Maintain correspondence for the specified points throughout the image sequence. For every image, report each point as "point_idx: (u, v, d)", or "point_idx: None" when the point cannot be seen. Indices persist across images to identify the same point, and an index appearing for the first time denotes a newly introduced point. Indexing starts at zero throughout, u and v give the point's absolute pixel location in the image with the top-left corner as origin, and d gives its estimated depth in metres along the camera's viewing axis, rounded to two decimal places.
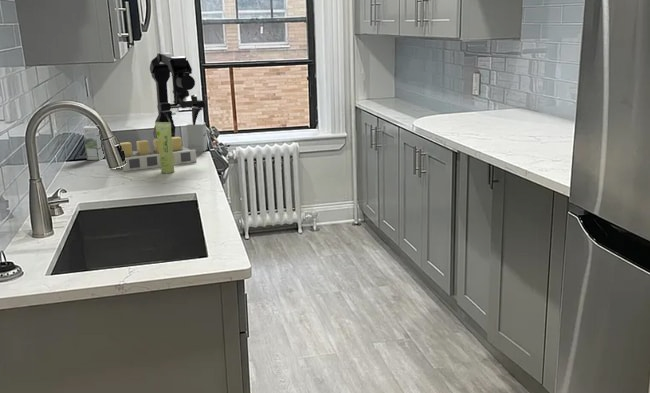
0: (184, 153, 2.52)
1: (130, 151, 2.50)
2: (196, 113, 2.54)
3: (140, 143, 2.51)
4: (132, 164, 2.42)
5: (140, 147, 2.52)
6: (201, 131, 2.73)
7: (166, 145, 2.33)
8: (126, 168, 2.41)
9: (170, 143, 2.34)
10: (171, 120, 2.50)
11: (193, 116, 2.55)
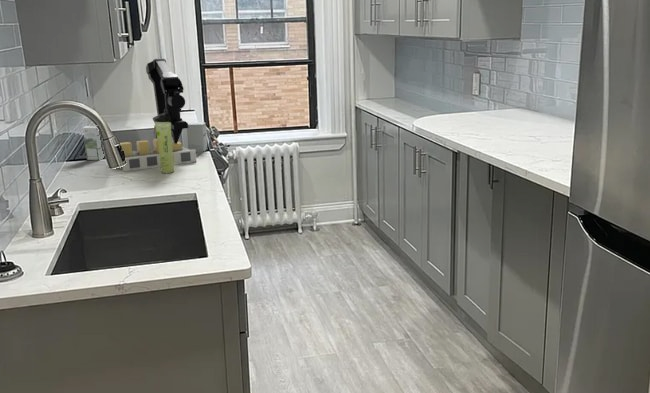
0: (184, 153, 2.52)
1: (130, 151, 2.50)
2: (172, 132, 2.58)
3: (140, 143, 2.51)
4: (132, 164, 2.42)
5: (140, 147, 2.52)
6: (201, 131, 2.73)
7: (166, 145, 2.33)
8: (126, 168, 2.41)
9: (170, 143, 2.34)
10: (172, 136, 2.61)
11: None
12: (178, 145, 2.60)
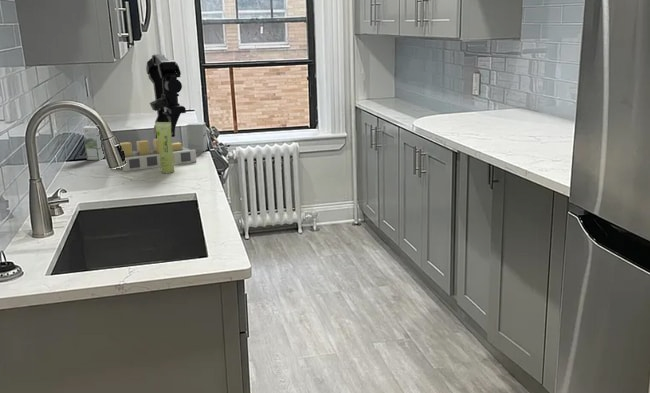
0: (184, 153, 2.52)
1: (130, 151, 2.50)
2: (169, 117, 2.56)
3: (140, 143, 2.51)
4: (132, 164, 2.42)
5: (140, 147, 2.52)
6: (201, 131, 2.73)
7: (166, 145, 2.33)
8: (126, 168, 2.41)
9: (170, 143, 2.34)
10: (169, 121, 2.58)
11: None
12: (178, 145, 2.60)
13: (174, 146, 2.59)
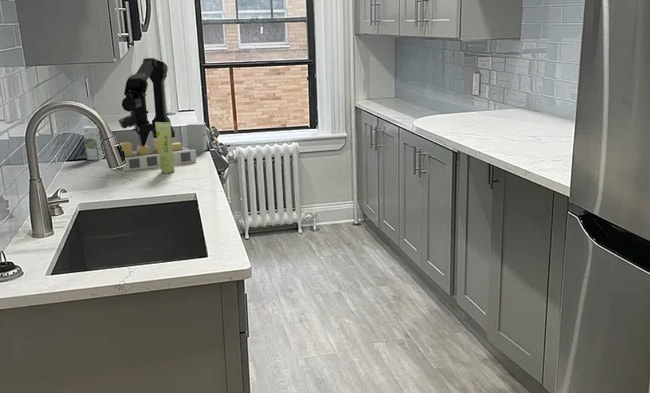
0: (184, 153, 2.52)
1: (130, 151, 2.50)
2: (139, 134, 2.51)
3: (140, 148, 2.52)
4: (132, 164, 2.42)
5: (140, 152, 2.52)
6: (201, 131, 2.73)
7: (166, 145, 2.33)
8: (126, 168, 2.41)
9: (170, 143, 2.34)
10: (139, 138, 2.53)
11: None
12: (178, 145, 2.60)
13: (174, 146, 2.59)
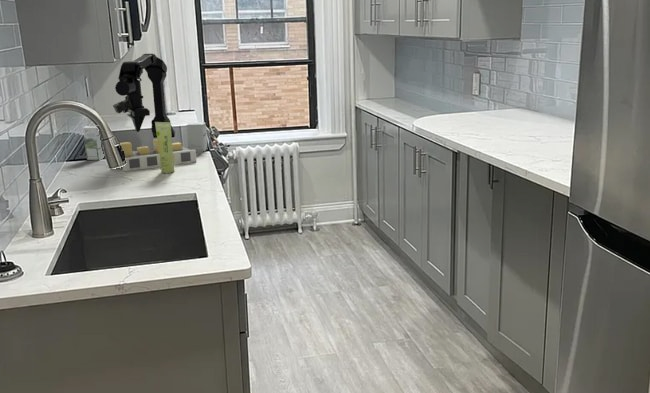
0: (184, 153, 2.52)
1: (130, 151, 2.50)
2: (133, 120, 2.49)
3: (141, 149, 2.52)
4: (132, 164, 2.42)
5: (141, 153, 2.52)
6: (201, 131, 2.73)
7: (166, 145, 2.33)
8: (126, 168, 2.41)
9: (170, 143, 2.34)
10: (134, 124, 2.51)
11: None
12: (178, 145, 2.60)
13: (174, 146, 2.59)
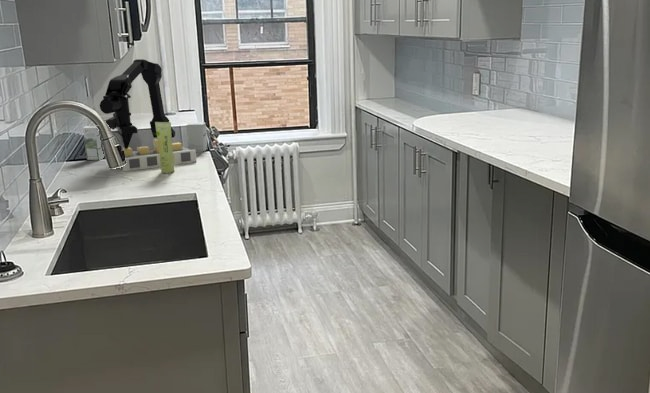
0: (184, 153, 2.52)
1: None
2: (121, 137, 2.48)
3: (141, 149, 2.52)
4: (132, 164, 2.42)
5: (141, 153, 2.52)
6: (201, 131, 2.73)
7: (166, 145, 2.33)
8: (126, 168, 2.41)
9: (170, 143, 2.34)
10: (122, 141, 2.50)
11: None
12: (178, 145, 2.60)
13: (174, 146, 2.59)
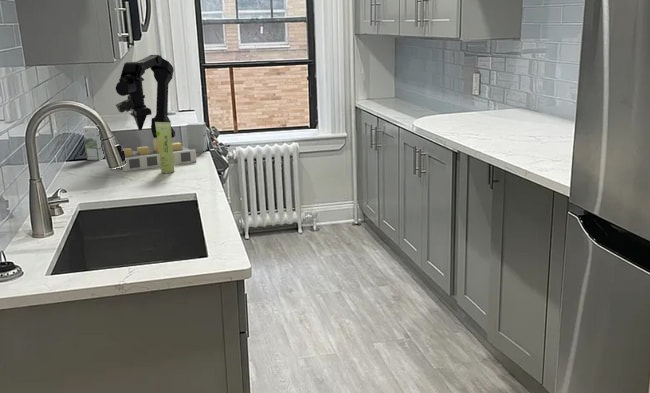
0: (184, 153, 2.52)
1: None
2: (136, 119, 2.56)
3: (141, 149, 2.52)
4: (132, 164, 2.42)
5: (141, 153, 2.52)
6: (201, 131, 2.73)
7: (166, 145, 2.33)
8: (126, 168, 2.41)
9: (170, 143, 2.34)
10: (136, 123, 2.58)
11: None
12: (178, 145, 2.60)
13: (174, 146, 2.59)
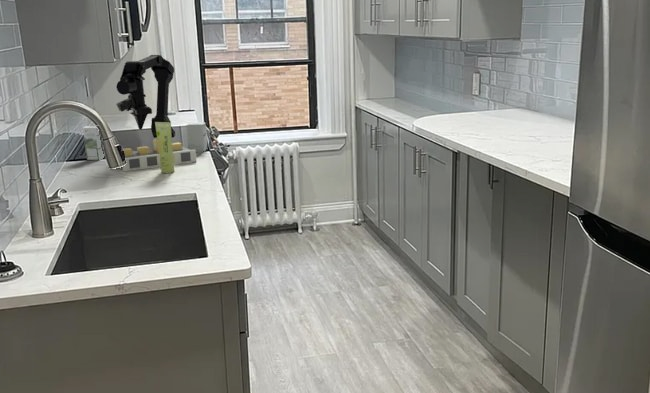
0: (184, 153, 2.52)
1: None
2: (136, 118, 2.56)
3: (141, 149, 2.52)
4: (132, 164, 2.42)
5: (141, 153, 2.52)
6: (201, 131, 2.73)
7: (166, 145, 2.33)
8: (126, 168, 2.41)
9: (170, 143, 2.34)
10: None
11: None
12: (178, 145, 2.60)
13: (174, 146, 2.59)
